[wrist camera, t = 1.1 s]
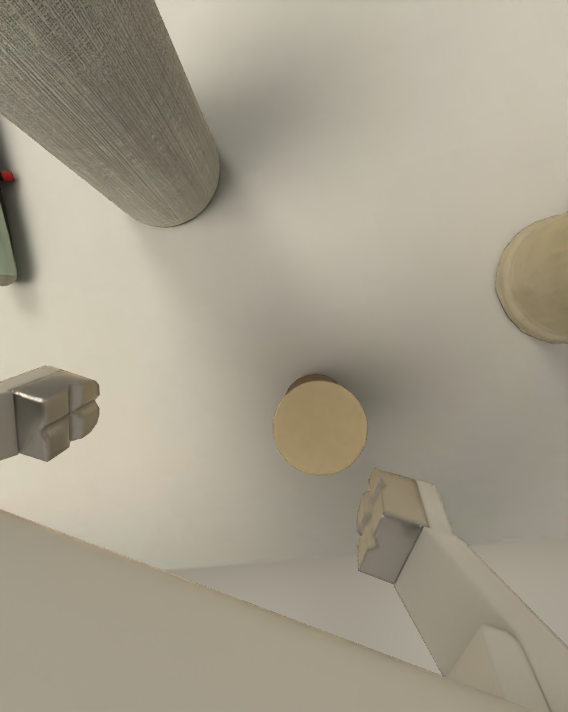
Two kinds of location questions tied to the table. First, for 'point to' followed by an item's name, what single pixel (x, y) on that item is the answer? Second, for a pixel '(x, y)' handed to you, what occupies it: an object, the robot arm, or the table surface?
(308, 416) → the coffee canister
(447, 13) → the table surface
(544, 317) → the lamp
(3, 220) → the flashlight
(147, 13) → the vase
